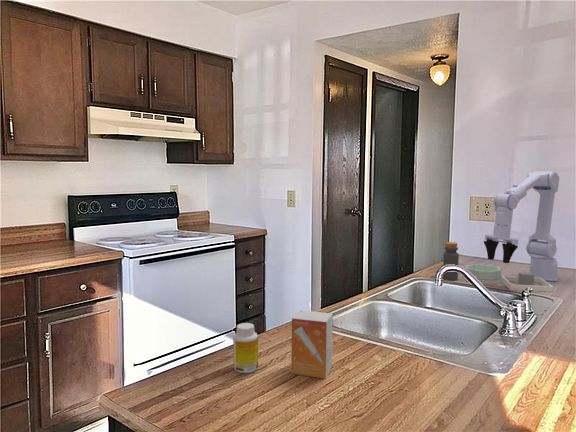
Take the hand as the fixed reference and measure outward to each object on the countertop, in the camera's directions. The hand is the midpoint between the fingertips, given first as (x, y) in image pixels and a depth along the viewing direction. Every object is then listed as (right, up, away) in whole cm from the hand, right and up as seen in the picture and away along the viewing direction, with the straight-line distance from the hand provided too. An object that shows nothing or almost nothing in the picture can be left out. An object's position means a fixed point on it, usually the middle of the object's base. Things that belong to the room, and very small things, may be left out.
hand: (498, 261), depth 175 cm
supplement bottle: (-89, -18, -69) cm, 114 cm away
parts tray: (+12, -10, +4) cm, 17 cm away
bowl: (+3, -8, +20) cm, 22 cm away
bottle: (-13, -9, +16) cm, 22 cm away
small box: (-74, -18, -70) cm, 104 cm away
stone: (+12, -10, +4) cm, 17 cm away
